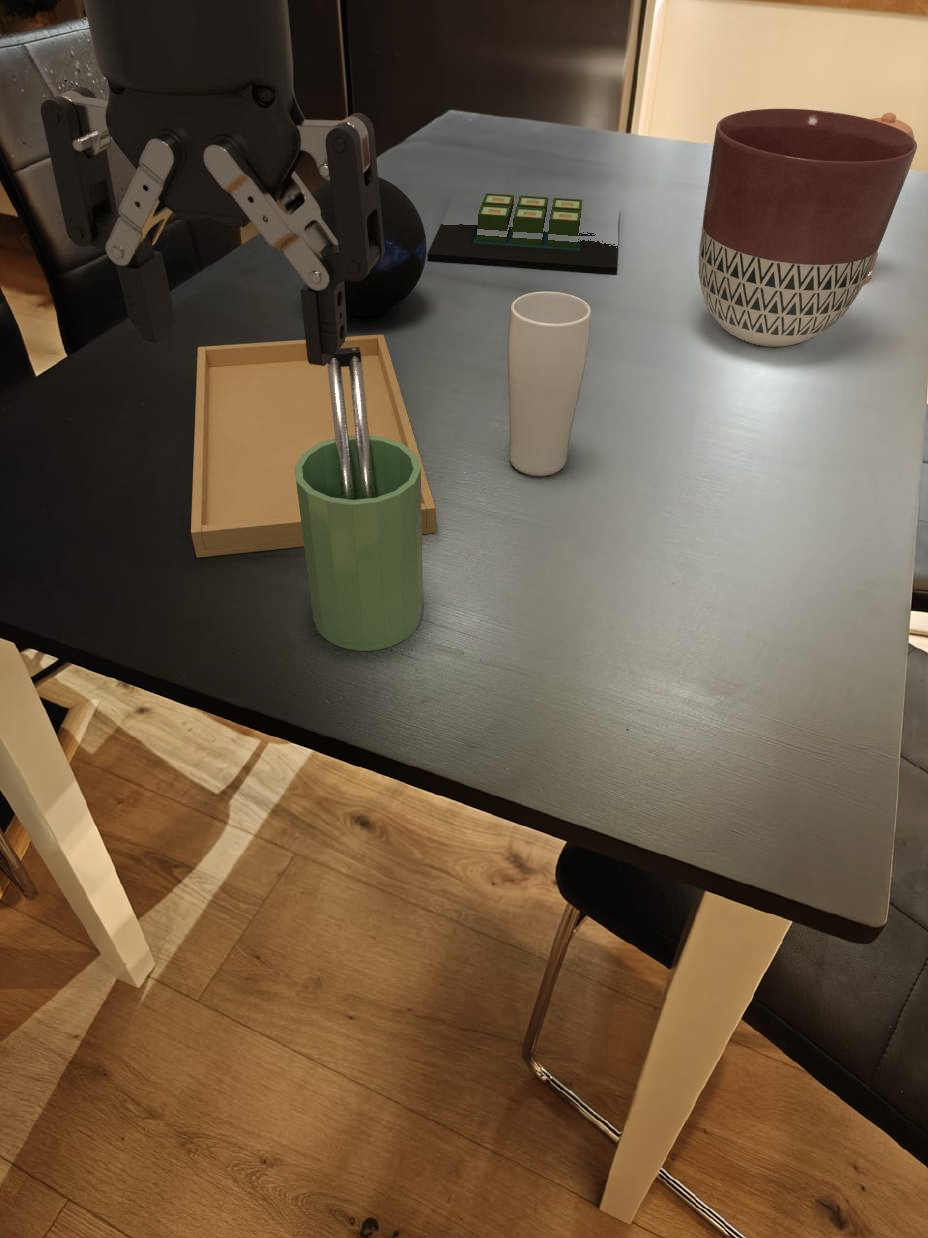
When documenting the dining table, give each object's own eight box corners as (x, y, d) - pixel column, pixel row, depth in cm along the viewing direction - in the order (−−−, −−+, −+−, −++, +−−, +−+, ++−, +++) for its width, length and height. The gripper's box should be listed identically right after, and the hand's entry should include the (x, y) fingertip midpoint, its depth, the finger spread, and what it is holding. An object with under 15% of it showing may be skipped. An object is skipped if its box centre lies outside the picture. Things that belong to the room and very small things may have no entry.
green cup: (317, 657, 65) (299, 509, 56) (309, 584, 71) (291, 440, 62) (430, 643, 66) (429, 496, 57) (413, 573, 72) (409, 430, 63)
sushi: (618, 210, 136) (622, 184, 133) (616, 274, 118) (620, 245, 115) (454, 199, 138) (455, 173, 136) (427, 260, 120) (427, 231, 117)
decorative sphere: (275, 319, 106) (257, 183, 96) (345, 275, 116) (336, 148, 105) (385, 348, 101) (379, 208, 91) (449, 300, 111) (450, 169, 100)
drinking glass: (586, 475, 83) (607, 318, 73) (519, 489, 81) (530, 330, 71) (554, 438, 87) (569, 285, 77) (489, 451, 85) (496, 296, 75)
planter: (821, 392, 95) (890, 175, 81) (651, 344, 103) (687, 138, 88) (869, 326, 108) (936, 128, 93) (714, 288, 115) (754, 98, 101)
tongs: (356, 637, 66) (337, 409, 54) (345, 566, 72) (325, 347, 60) (388, 633, 66) (375, 406, 54) (373, 563, 72) (359, 345, 60)
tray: (196, 558, 73) (190, 532, 71) (202, 369, 96) (197, 346, 95) (435, 533, 76) (435, 507, 74) (384, 356, 99) (383, 333, 98)
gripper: (-63, -73, 31) (66, 361, 42) (325, -49, 29) (355, 404, 40) (59, -92, 37) (145, 298, 48) (394, -73, 34) (403, 332, 45)
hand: (240, 346), depth 44 cm, fingers open, 8 cm apart
